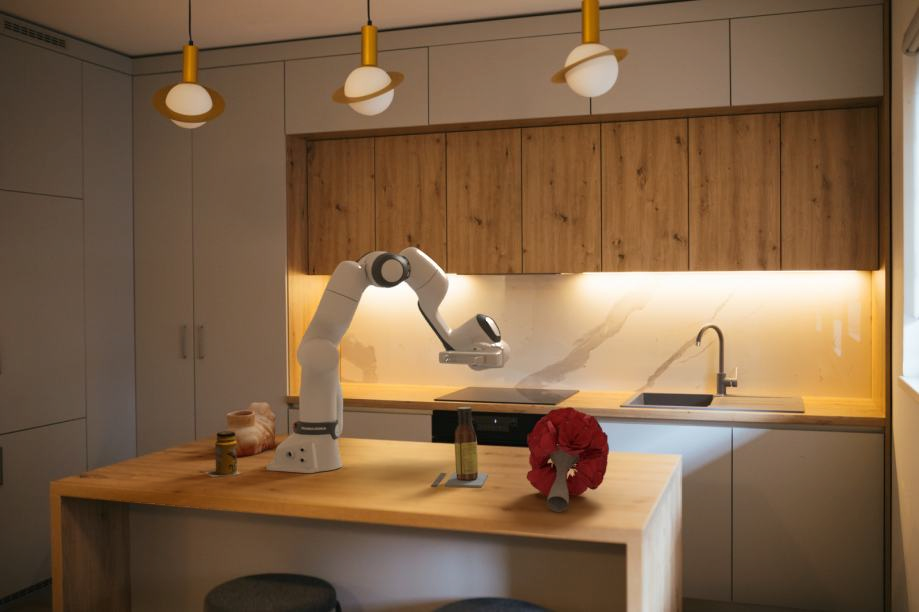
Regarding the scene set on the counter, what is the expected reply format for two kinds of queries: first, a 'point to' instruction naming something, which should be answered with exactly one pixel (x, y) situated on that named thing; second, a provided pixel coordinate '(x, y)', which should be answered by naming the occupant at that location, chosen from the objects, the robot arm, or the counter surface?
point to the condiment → (225, 455)
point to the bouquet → (566, 455)
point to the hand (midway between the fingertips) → (458, 360)
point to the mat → (466, 481)
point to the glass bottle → (339, 406)
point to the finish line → (438, 479)
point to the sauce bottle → (465, 446)
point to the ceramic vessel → (253, 429)
